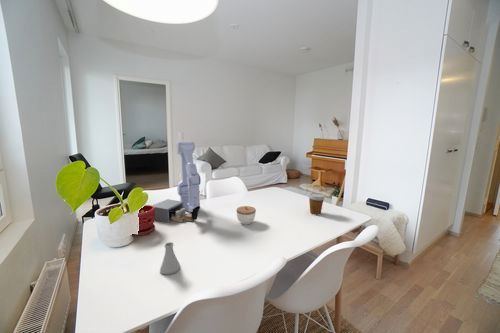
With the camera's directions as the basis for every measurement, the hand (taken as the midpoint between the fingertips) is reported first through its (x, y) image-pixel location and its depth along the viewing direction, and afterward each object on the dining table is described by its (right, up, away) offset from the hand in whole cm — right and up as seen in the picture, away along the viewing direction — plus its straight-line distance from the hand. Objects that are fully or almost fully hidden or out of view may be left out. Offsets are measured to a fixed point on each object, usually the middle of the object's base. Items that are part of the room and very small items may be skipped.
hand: (194, 219), depth 126 cm
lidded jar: (+29, -2, 0) cm, 29 cm away
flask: (+1, -9, -43) cm, 44 cm away
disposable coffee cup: (+72, 0, +15) cm, 74 cm away
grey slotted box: (-18, 0, +7) cm, 19 cm away
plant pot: (-23, -3, -13) cm, 27 cm away
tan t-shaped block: (-7, 0, +3) cm, 7 cm away
